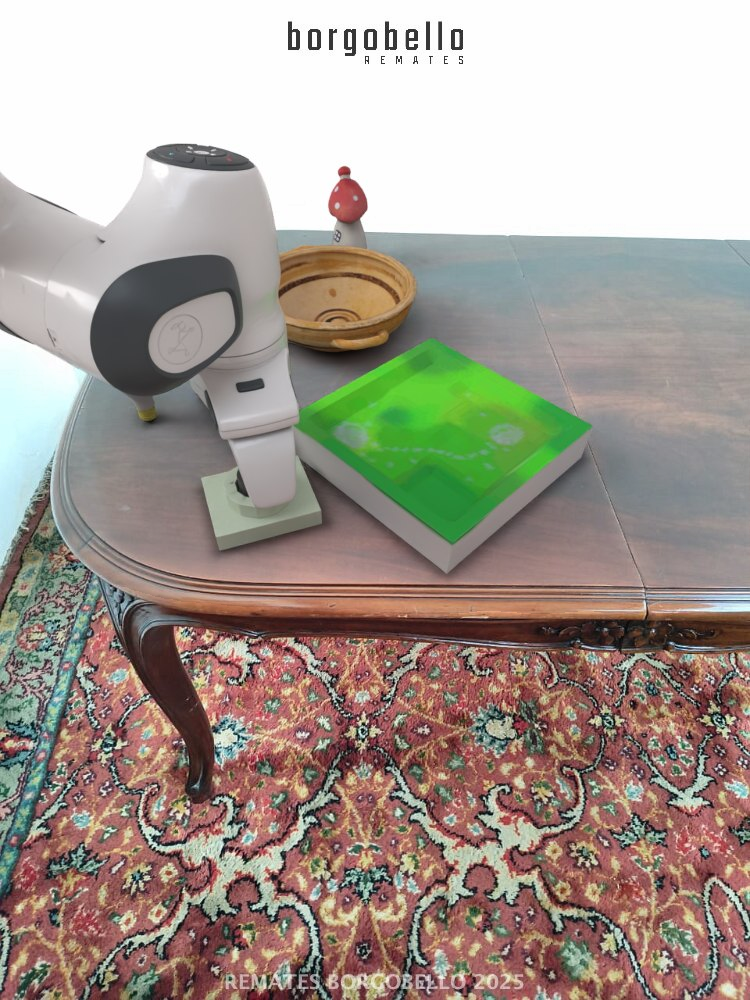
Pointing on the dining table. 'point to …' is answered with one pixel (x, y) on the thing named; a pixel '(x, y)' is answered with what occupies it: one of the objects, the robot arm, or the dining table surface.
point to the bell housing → (256, 510)
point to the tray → (439, 448)
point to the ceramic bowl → (343, 296)
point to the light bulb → (144, 406)
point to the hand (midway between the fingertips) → (257, 472)
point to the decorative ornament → (348, 211)
